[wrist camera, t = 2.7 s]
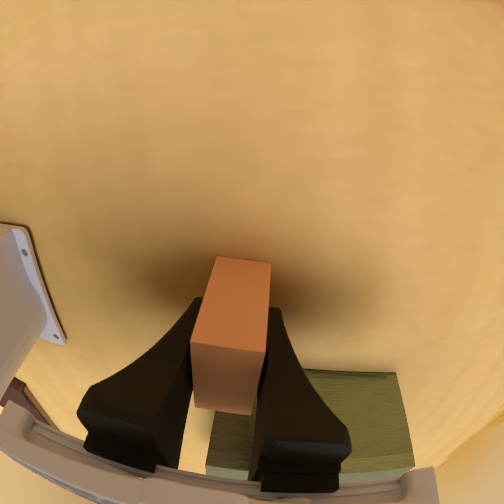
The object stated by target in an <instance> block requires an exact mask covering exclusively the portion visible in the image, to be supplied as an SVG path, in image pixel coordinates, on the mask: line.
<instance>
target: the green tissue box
mask: <svg viewBox="0 0 504 504" xmlns="http://www.w3.org/2000/svg"><path fill="white" fill-rule="evenodd" d="M303 371H304V372H305V374H306V376H307V378H308V379H309V381H310V382H311V384H312V386H313V387H314V389H315V390H316V391H317V393H318V394H319V396H320V397H321V398H322V400H323V401H324V402H325V404H326V405H327V406H328V407H329V408H330V410H331V411H332V412H333V413H334V414H335V415H336V416H337V418H338V419H339V420H340V421H341V422H342V423H343V424H344V425H345V426H346V427H347V429H348V432H349V435H350V439H351V444H352V453H351V454H350V455H349V456H348V457H347V458H346V459H345V460H344V461H343V462H342V463H341V472H340V473H339V483H350V482H363V481H373V480H382V479H390V478H397V477H399V476H401V475H402V474H404V473H406V472H407V471H409V470H410V469H412V468H413V467H415V461H414V455H413V449H412V444H411V438H410V433H409V428H408V423H407V419H406V414H405V409H404V405H403V401H402V396H401V392H400V388H399V384H398V380H397V376H396V373H363V372H339V371H322V370H308V369H303ZM256 409H257V392H256V396H255V400H254V404H253V409H252V413H251V415H243V414H235V413H228V412H221V411H215V416H214V421H213V426H212V432H211V437H210V443H209V448H208V454H207V459H206V465H205V466H206V475H209V476H215V477H222V478H229V479H237V480H246V481H247V480H248V473H249V466H250V459H251V451H252V443H253V435H254V427H255V418H256ZM249 499H251V498H249ZM256 500H263V499H256ZM263 501H272V500H263Z"/></svg>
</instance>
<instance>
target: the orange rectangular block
mask: <svg viewBox="0 0 504 504" xmlns="http://www.w3.org/2000/svg"><path fill="white" fill-rule="evenodd" d="M270 278H271V263H265V262H258V261H250V260H243V259H236V258H228V257H221V256H217V258H216V261H215V264H214V267H213V270H212V273H211V276H210V279H209V282H208V285H207V289H206V292H205V295H204V298H203V301H202V304H201V307H200V311H199V314H198V317H197V320H196V324H195V327H194V330H193V333H192V336H191V340H190V349H191V365H192V378H193V391H194V402H195V407H198V408H203V409H209V410H215V411H221V412H228V413H235V414H243V415H251V413H252V409H253V404H254V400H255V396H256V392H257V387H258V383H259V379H260V374H261V370H262V366H263V361H264V357H265V352H266V338H267V324H268V309H269V294H270Z"/></svg>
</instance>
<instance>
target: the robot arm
mask: <svg viewBox="0 0 504 504" xmlns="http://www.w3.org/2000/svg"><path fill="white" fill-rule="evenodd" d="M202 301H203V298H202V297H196V298H195V299H194V300H193V302H192V303H191V305H190V306H189V307H188V309H187V310H186V311H185V313H184V314H183V315H182V316H181V317H180V319H179V320H178V321H177V322H176V323H175V324H174V326H173V327H172V328H171V329H170V330H169V331H168V332H167V333H166V334H165V335H164V336H163V337H162V338H161V339H160V340H159V341H158V342H157V343H156V344H155V345H154V346H153V347H152V348H150V349H149V350H148V351H147V352H146V353H145V354H143V355H142V356H141V357H139V358H138V359H137V360H135V361H134V362H133V363H131V364H130V365H128V366H127V367H125V368H124V369H122V370H120V371H119V372H117V373H116V374H114V375H112V376H110V377H109V378H107V379H105V380H103V381H101V382H99V383H96V384H94V385H92V386H90V388H89V389H88V391H87V392H86V394H85V395H84V397H83V399H82V401H81V403H80V406H79V408H78V410H77V417H78V418H79V420H80V422H81V423H82V424H83V425H84V427H85V428H86V429H87V431H88V435H87V437H86V440H85V441H83V440H81V439H78V438H76V437H73V436H71V435H69V434H66V433H64V432H62V431H59V430H57V429H55V428H53V427H51V426H49V425H47V424H45V423H42V422H40V421H38V420H36V419H35V417H34V416H33V415H32V414H31V413H30V412H29V411H28V410H27V409H25V408H23V407H21V406H20V405H18V404H16V403H14V402H12V401H11V400H8V401H7V403H6V405H5V407H4V409H3V411H2V413H1V415H0V450H1V451H3V452H4V453H5V454H7V455H8V456H9V457H11V458H12V459H13V460H14V461H16V462H17V463H19V464H21V465H22V466H24V467H26V468H27V469H29V470H31V471H33V472H34V473H36V474H38V475H40V476H41V477H43V478H45V479H47V480H49V481H50V482H52V483H54V484H56V485H58V486H60V487H62V488H64V489H66V490H68V491H70V492H72V493H75V494H77V495H79V496H81V497H83V498H85V499H88V500H90V501H92V502H95V503H97V504H439V497H438V490H437V483H436V478H435V472H434V467H432V466H431V467H426V468H421V469H416V470H411V471H408V472H406V473H404V474H403V475H402V476H401V477H397V478H390V479H382V480H373V481H363V482H350V483H339V473H340V472H341V463H342V462H343V461H344V460H345V459H346V458H347V457H348V456H349V455H350V454H351V453H352V444H351V439H350V435H349V432H348V429H347V427H346V426H345V425H344V424H343V423H342V422H341V421H340V420H339V419H338V418H337V416H336V415H335V414H334V413H333V412H332V411H331V410H330V408H329V407H328V406H327V405H326V404H325V402H324V401H323V400H322V398H321V397H320V396H319V394H318V393H317V391H316V390H315V389H314V387H313V386H312V384H311V382H310V381H309V379H308V378H307V376H306V374H305V372H304V371H303V369H302V367H301V365H300V363H299V361H298V359H297V357H296V355H295V352H294V350H293V348H292V345H291V342H290V340H289V337H288V335H287V332H286V328H285V325H284V322H283V318H282V313H281V310H280V309H279V308H272V307H269V309H268V324H267V338H266V352H265V357H264V361H263V366H262V370H261V374H260V379H259V383H258V387H257V409H256V418H255V427H254V435H253V443H252V451H251V459H250V466H249V473H248V480H247V481H246V480H237V479H229V478H222V477H215V476H209V475H203V474H198V473H192V472H187V471H183V470H178V465H179V459H180V452H181V446H182V440H183V434H184V429H185V423H186V418H187V413H188V408H189V403H190V399H191V395H192V391H193V378H192V365H191V349H190V340H191V336H192V333H193V330H194V327H195V324H196V320H197V317H198V314H199V311H200V307H201V304H202ZM38 338H41V339H44V340H46V341H49V342H52V343H55V344H58V345H61V346H64V345H65V343H66V339H65V337H64V334H63V332H62V330H61V327H60V325H59V322H58V320H57V317H56V315H55V312H54V310H53V307H52V305H51V302H50V299H49V297H48V294H47V291H46V288H45V285H44V282H43V279H42V276H41V273H40V270H39V267H38V264H37V260H36V257H35V254H34V250H33V247H32V243H31V239H30V235H29V233H28V231H27V230H26V229H25V228H24V227H20V226H14V225H7V224H1V223H0V400H1V398H2V397H3V395H4V393H5V391H6V390H7V388H8V386H9V384H10V383H11V381H12V379H13V378H14V376H15V374H16V373H17V371H18V369H19V368H20V366H21V364H22V363H23V361H24V360H25V358H26V356H27V355H28V353H29V352H30V350H31V349H32V347H33V346H34V344H35V342H36V341H37V339H38ZM138 477H140V478H143V479H140V478H138ZM144 479H145V480H144ZM249 498H251V499H249ZM256 499H263V500H272V501H263V500H256Z"/></svg>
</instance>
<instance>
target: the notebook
mask: <svg viewBox="0 0 504 504" xmlns="http://www.w3.org/2000/svg"><path fill="white" fill-rule="evenodd" d="M8 400H11V401H12V402H14V403H16V404H18V405H20V406H21V407H23V408H25V409H27V410H28V411H29V412H30V413H31V414H32V415H33V416H34V417H35V419H36V420H38V421H40V422H42V423H45V424H47V425H49V426H51V427H53V428H55V429H57V430H59V429H58V427H57V426H56V425H55V424H54V422H53V421H52V420H51V419H50V417H49V416H48V415H47V413H46V412H45V411H44V409H43V408H42V407H41V405H40V404H39V403H38V401H37V400H36V398H35V397H34V396H33V394H32V393H31V391H30V390H29V388H28V387H27V385H26V383H24V382H22V381H20V380H18V379H16V378H15V377H14V378H13V379H12V381H11V383H10V384H9V386H8V388H7V390H6V391H5V393H4V395H3V397H2V398H1V400H0V405H1V406H2V407H5V405H6V403H7V401H8ZM59 431H60V430H59Z"/></svg>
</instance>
